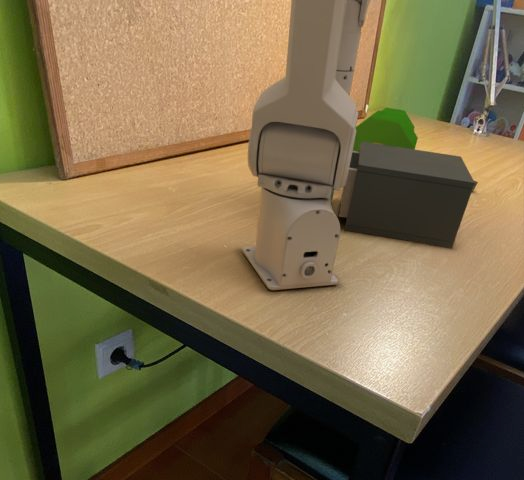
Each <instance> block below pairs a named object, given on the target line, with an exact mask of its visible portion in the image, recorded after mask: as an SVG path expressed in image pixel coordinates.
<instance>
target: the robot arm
mask: <svg viewBox="0 0 524 480" xmlns="http://www.w3.org/2000/svg"><path fill="white" fill-rule="evenodd" d="M370 3H371V0H291V3H290V14H289V15H290V16H289V26H288V42H287V52H286V67H285V76H284V77H282V78H280V80H278V81H276V82H275V83H273V84H272V85H269V86H268V87H267V88H266V89H264V90H263V91H262V92H261V93H260V95H259V97H258V99H257V100H256V102H255V105H254V107H253V109H252V115H251V128H250V131H249V137H248V145H247V166H248V170H249V171H250V172H251V175H252V176H253V177H255V178H257V187H259V188H260V197H259V205H258V214H257V215H258V216H257V217H258V218H257V225H256V234H255V235H256V236H255V245H252V246H251V245H250V246H243V247H242V250H241V251H242V253H243V255H244V256H245V257H246V258H247V260H248V262H249V264H250V265H251V266H252V267H253V269H254V270H255V272H256V273H257V275H258V276H259V277H260V279H261V280H262V282H263V284H264V285H265V286H266V287H267V289H269V290H270V291H279V290H289V289H292V290H293V289H302V288H312V287H323V286H335V285H337V284H338V282H339V279H338V278H337V277H336V276H335V275H334V274H333V271H334V266H335V262H336V257H337V252H338V249H339V241H340V237H341V223H340V220H339V218H338V216H337V215H336V213H335V211H334V210H333V207H332V203H331V194H332V191H333V188H334V191H337V192H340V190H341V189H343V188H344V186H345V184H346V180H347V176H348V171H349V166H350V162H351V157H352V152H353V147H354V142H355V136H356V126H357V125H358V124H357V123H358V117H359V111H358V110H357V108H358V105H357V103H356V102H355V100H354V99H353V98H352V97H351V96H350V95H351V91H352V87H353V80H354V74H355V69H356V64H357V59H358V52H359V49H360V48H359V47H360V41H361V37H362V36H361V35H362V28H363V27H364V25H365V21H366V17H367V12H368V9H369V6H370Z"/></svg>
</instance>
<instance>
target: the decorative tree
mask: <svg viewBox="0 0 524 480" xmlns="http://www.w3.org/2000/svg"><path fill="white" fill-rule="evenodd" d="M418 139H419V137H418V135H417V134H416V132H415V125H414V123H413V122H412V120H411V118H410V117H409V114H408V113H407V112H406V110H404V109H398V108H391V107H384V108H383V109H382V110H379V109H378V110H376V111H375V112H373V113H372V114H371V115H369V116H368V117H367V118H366V119H364V120H363V121H362V122H361V123H359V124H357V125H356V136H355V142H354V147H353V151H358V152H359V147H360V142H361V141H362V142H369V143H375V144H382V145H388V146H395V147H401V148H408V149H415V150H416V146H417V144H418V143H417V142H418Z"/></svg>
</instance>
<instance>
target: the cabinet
mask: <svg viewBox="0 0 524 480" xmlns="http://www.w3.org/2000/svg"><path fill="white" fill-rule="evenodd" d="M474 181H475V180H474V178H473V176H472V174H471V172H470V171H469V169H468V167H467V165H466V164H465V161H464V160H463V158H462V156H460V155H453V154H447V153H441V152H434V151H426V150H420V149H416V148H415V149H408V148H401V147H395V146H388V145H382V144H375V143H369V142H362V141H361V142H360V147H359V159H358V169H357V174H356V178H355V183H354V188H353V193H352V197H351V202H350V207H349V212H348V216H347V218H345V225H344V231H348V232H354V233H359V234H364V235H365V234H367V235H372V236H376V237H377V236H378V237H383V238H390V239H396V240H402V241H408V242H413V243H419V244H426V245H430V246H431V245H432V246H437V247H443V248H449V249H453V246H454V243H455V241H456V238H457V235H458V232H459V229H460V228H461V227H460V226H461V223H462V221H463V218H464V215H465V212H466V209H467V206H468V204H469V201H470V198H471V195H472V193H473V192H472V190H473V187H474V184H475V182H474Z"/></svg>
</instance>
